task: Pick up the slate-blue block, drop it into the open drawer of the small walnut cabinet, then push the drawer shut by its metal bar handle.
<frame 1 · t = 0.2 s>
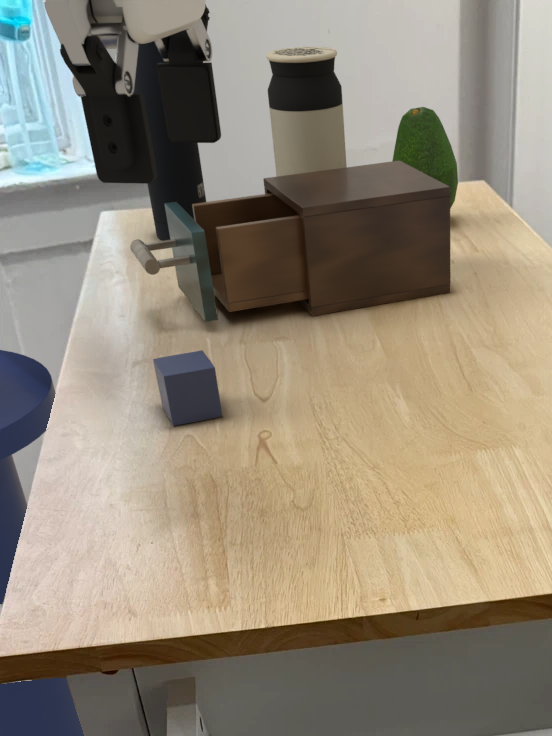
hand: (164, 160, 57), 21 cm above the table, tool pointing down, fingers open, 9 cm apart
avocado: (425, 224, 121), on the table
block: (192, 412, 81), on the table
drawer: (231, 254, 97), point 5 cm above the table, slide at 9.0 cm
travel mug: (316, 236, 119), on the table
cabinet: (360, 285, 104), on the table
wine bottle: (184, 235, 121), on the table
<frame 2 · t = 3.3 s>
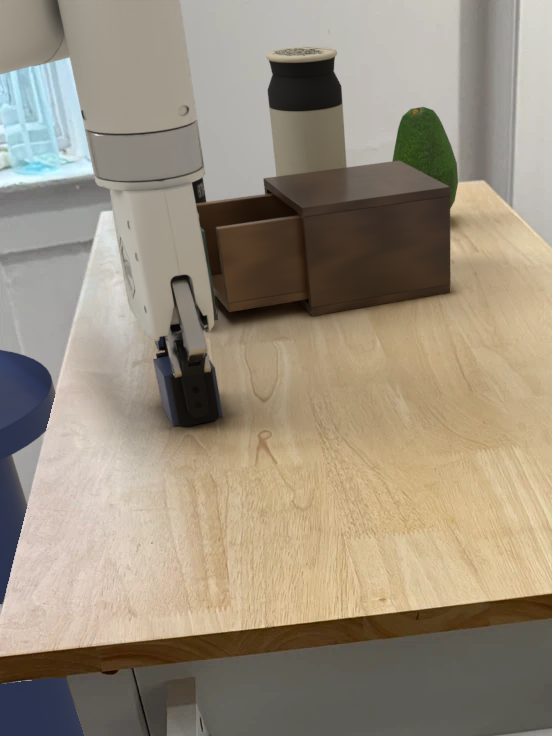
hand: (191, 408, 81), 0 cm above the table, tool pointing down, fingers closed on block, 4 cm apart
block: (192, 412, 81), on the table, touching gripper
everything else where it was.
when the fingers open (9 cm above the table, at t = 8.6 s): block drops 7 cm, resting on drawer.
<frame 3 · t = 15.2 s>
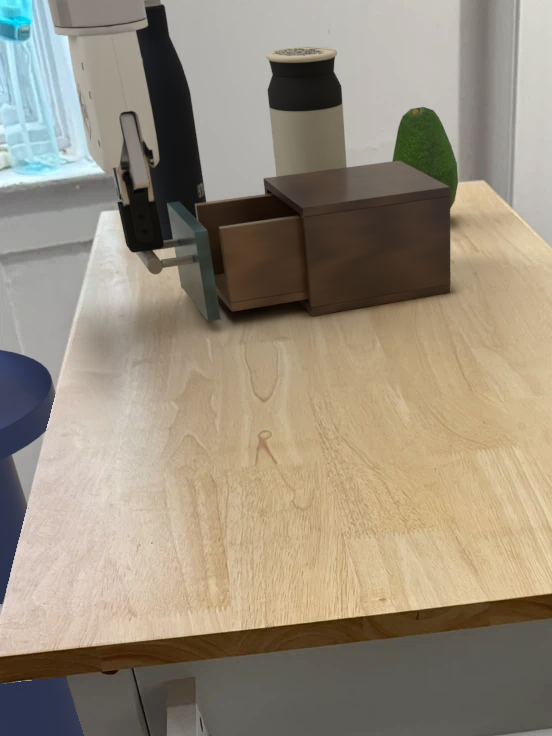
hand: (145, 247, 94), 7 cm above the table, tool pointing down, fingers closed
block: (251, 282, 99), point 2 cm above the table, touching drawer
drawer: (234, 254, 97), point 5 cm above the table, slide at 8.7 cm, touching block, gripper
everything else where it was.
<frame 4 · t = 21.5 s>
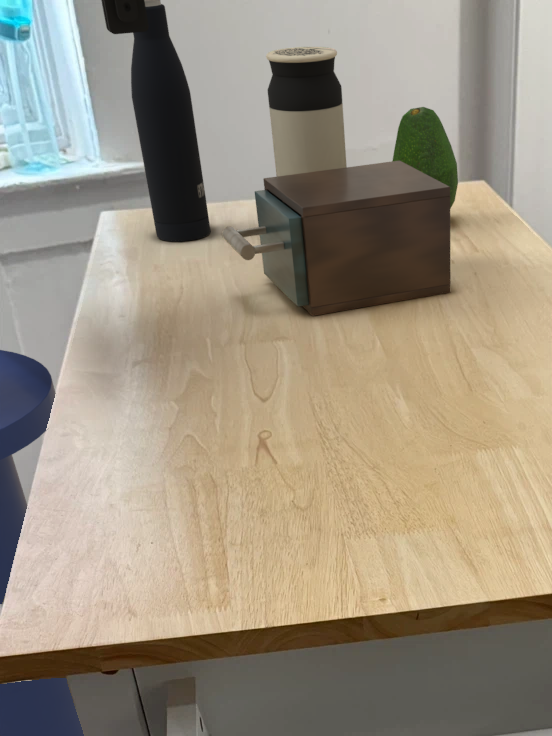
hand: (128, 31, 84), 23 cm above the table, tool pointing down, fingers closed
block: (335, 269, 102), point 2 cm above the table, touching drawer
drawer: (320, 241, 100), point 5 cm above the table, slide at 0.0 cm, touching block, cabinet
everything else where it was.
at the end: block inside the target area in the cabinet (2.6 cm from its centre), point 2.0 cm above the cabinet's base; drawer slide at 0.0 cm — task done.
